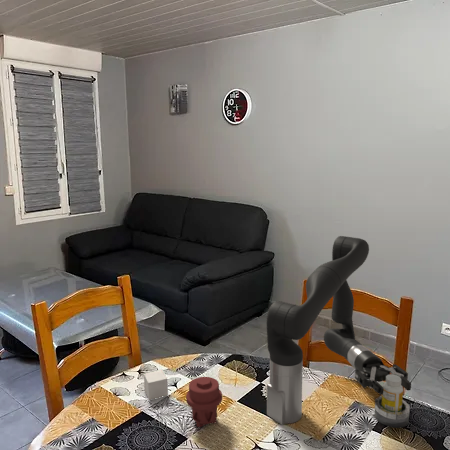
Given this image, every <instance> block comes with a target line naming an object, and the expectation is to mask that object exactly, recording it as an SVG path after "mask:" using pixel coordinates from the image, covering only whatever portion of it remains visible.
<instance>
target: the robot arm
mask: <svg viewBox="0 0 450 450" xmlns="http://www.w3.org/2000/svg"><path fill="white" fill-rule="evenodd" d="M331 249H332V251H331V255H332V256H331V260H330V261H327V262H325V263H323V264H320V265H319V266H317V268H316V269H315V270H314V271H312V272H311V274H310V275H309V276H308V277H307V279H306V283H305V291H306V298H307V299H306V300H305V302H303V304H300V305H297V304H293V303H289V302H285V301H280V300H277V301H274V302H273V303H272V304H271V305H270V306H269V308H268V311H267V315H266V338H267V340H266V341H267V351H268V353H269V383H267V385H266V415H267V416H268V417H270V418H271V419H272V420H273V421H276V423H278V424H280V425H285V424H294V423H296V422H299V421H300V420H301V418H302V415H303V413H302V412H303V409H302V408H303V366H304V365H303V361H304V353H303V349H302V347H301V346H300V345H299V344H298V343H296V341H299V340H301V339H302V338H303V339H304V337H305V336H306V334H307V333H309V330H310V329H311V328H312V326H313V324H314V323H315V321H316V320H317V318H318V317H319V315H320V313H321V312H322V310H323V309H324V307H326V305H327V304H328V302H330V300H331V299H332V305H331V320H332V321H333V322H334V323H336V324H341V326H342V327H341V328H329V329H327V330H326V331H325V332H324V335H323V343H324V344H325V346H326V348H327V349H328V350H330V351H331V352H333V353H335V354H337V355H338V356H341V357H343V358H344V359H345V360H346V361H347V362H348V363H349V364H350V365H351V366H352V368H353V369H354V379H355V380H356V381H357V382H358V384H359V385H360V386H361V387H362V388H364V389H367V388H368V387H369V388H370V389H373V391H375V392H376V394H379V395H380V396H382V394H383V385H381V383H379V382H386V376H387V375H389V374H393V375H397V376H399V377H400V378H401V385H402V387H403V389H405V390H406V391H411V389H412V382H411V381H410V380H409V379H408V377H409V376H408V375H409V373H408V372H407V371H406V370H404V369H403V368H401V367H400V366H398V365H397V364H395V363H394V364H392V367H389V366H387V365H385V364H384V362H383V360H382V359H381V358H380V357H379V356H377V355H376V353H374V352H373V351H372V350H370V349H369V348H368V347H366V346H364V345H363V344H362V343H360V341H358V340H356V334H355V330H354V323H353V315H354V313H353V312H354V306H355V305H354V304H355V301H354V300H355V299H354V295H353V291H352V290H351V287H350V285H349V282H348V281H347V280H348V278H349V277H350V276H351V275H352V274H354V273H355V272H356V271H358V269H359V268H361V267H362V265H364V263H365V262H366V260H367V259H368V256H369V252H370V245H369V242H367V241H366V240H365V239H363V238H359V237H354V236H353V237H352V236H343V235H338V236H337V237H336V238H335V240H334V242H333V245H332V248H331Z"/></svg>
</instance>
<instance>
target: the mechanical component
mask: <svg viewBox="0 0 450 450" xmlns="http://www.w3.org/2000/svg"><path fill="white" fill-rule="evenodd" d="M185 397H186V399H185V400H186V404H187V405H188V406H189V407H191V416H192V420H193V421H195V423H196V425H195V426H196V427H197V428H202V427H204V426H205V425H209V424H210V423H211V424H216V423H217V417H218V412H217V411H218V406H219V405H220V404H221V403H222V400H223V392H222V391H221V389H220V383H219V381H218V380H217V379H216V378H214V377H211V376H199V377H196V378H194V379H191V381H190V382H189V384H188V391H187V392H186V396H185Z"/></svg>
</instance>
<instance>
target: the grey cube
mask: <svg viewBox="0 0 450 450" xmlns="http://www.w3.org/2000/svg"><path fill="white" fill-rule="evenodd" d="M143 382H144V383H143V384H144V386H143V387H144V392H146V393H145V394H147V395H146V397H147V396H148V397H147V399H148V398H149V399H148V401H149V400H150V401H152V400H151V399H154V400H156V399H155V398H158V399H160V398H159V397H162V396H166V395H168V396H169V387H168V383H169V382H168V377H167V376H166V374H165V372H164V371H163V369H160V370H154V371H150V372H146V373H143ZM166 397H167V396H166ZM162 398H163V397H162Z"/></svg>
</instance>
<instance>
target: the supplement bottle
mask: <svg viewBox="0 0 450 450" xmlns="http://www.w3.org/2000/svg"><path fill="white" fill-rule="evenodd" d="M382 387H383V394H382V395H381V396H382V408H383V409H385V410H387V411H390V412H395V413H396V412H401V411H402V400H404V399H403V396H404V387H403V386H402V385H401V378H400V377H399V376H397V375H393V374H392V373H390V374H389V375H387V376H386V381H384V383H383V384H382Z"/></svg>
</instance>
